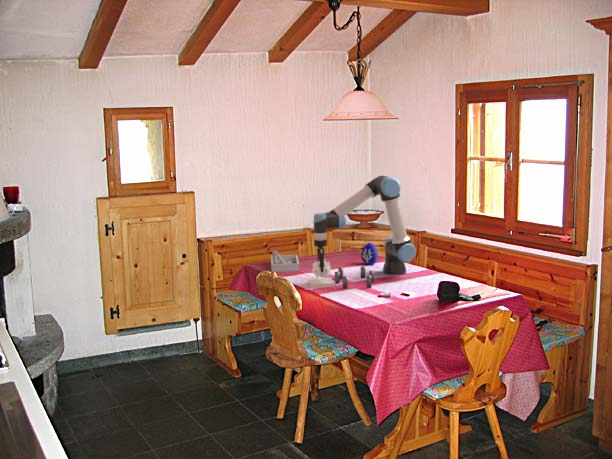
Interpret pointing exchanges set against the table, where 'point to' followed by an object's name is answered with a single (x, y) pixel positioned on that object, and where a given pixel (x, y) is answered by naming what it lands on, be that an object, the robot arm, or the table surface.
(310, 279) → the parts stand
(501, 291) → the table surface
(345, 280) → the standoff posts
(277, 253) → the faucet
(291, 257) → the storage bin
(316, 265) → the mechanical part
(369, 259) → the ornament
